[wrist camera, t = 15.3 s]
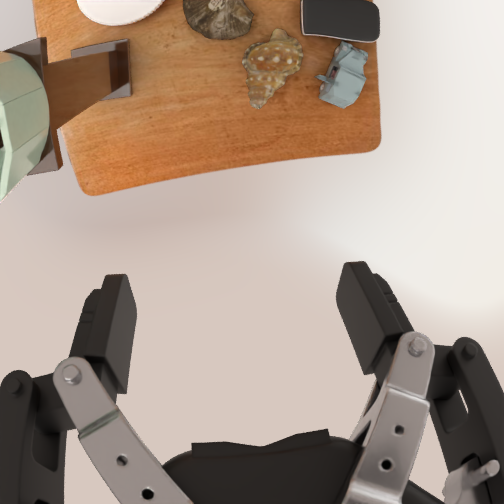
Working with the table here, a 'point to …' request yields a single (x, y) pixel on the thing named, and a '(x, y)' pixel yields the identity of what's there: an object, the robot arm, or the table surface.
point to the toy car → (344, 76)
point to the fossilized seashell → (218, 17)
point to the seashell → (270, 65)
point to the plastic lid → (118, 10)
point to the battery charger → (340, 19)
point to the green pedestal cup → (51, 101)
